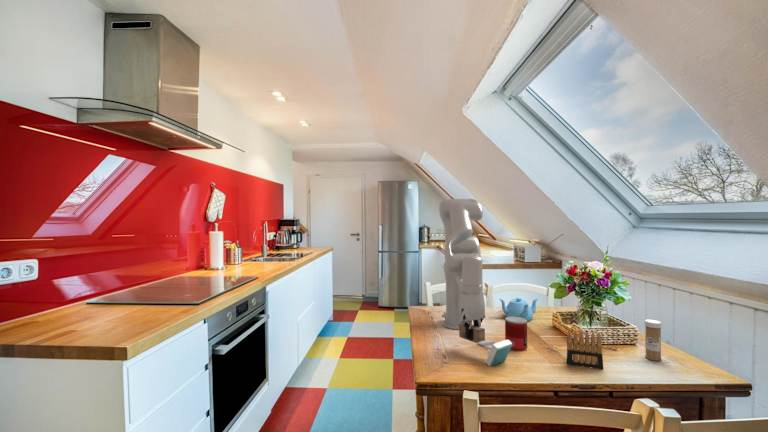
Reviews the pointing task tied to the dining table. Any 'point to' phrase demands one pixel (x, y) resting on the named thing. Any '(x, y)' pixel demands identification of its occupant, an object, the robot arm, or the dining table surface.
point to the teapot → (519, 308)
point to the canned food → (516, 332)
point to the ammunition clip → (584, 351)
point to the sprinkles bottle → (653, 340)
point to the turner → (476, 336)
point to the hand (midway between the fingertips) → (472, 337)
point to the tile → (498, 352)
